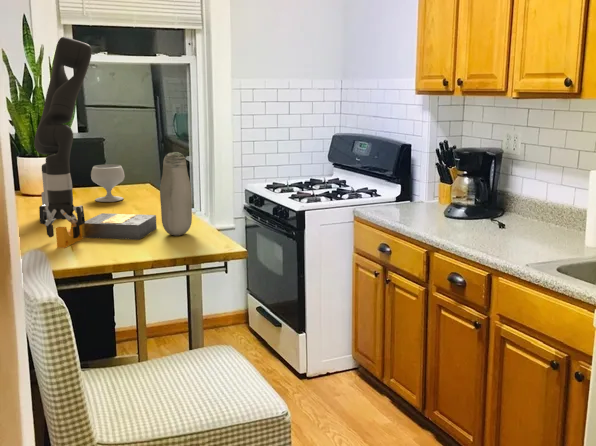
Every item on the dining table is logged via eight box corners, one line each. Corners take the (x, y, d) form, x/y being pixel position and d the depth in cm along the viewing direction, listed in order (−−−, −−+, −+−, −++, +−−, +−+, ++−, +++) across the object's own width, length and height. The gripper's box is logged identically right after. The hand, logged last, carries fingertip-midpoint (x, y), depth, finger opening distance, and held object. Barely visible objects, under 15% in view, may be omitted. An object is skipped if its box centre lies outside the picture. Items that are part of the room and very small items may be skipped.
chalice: (94, 204, 272) (92, 168, 269) (91, 198, 285) (88, 164, 281) (128, 201, 277) (126, 167, 274) (123, 196, 290) (121, 163, 287)
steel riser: (82, 237, 214) (81, 222, 213) (103, 227, 230) (102, 212, 229) (139, 239, 212) (138, 224, 211) (156, 228, 227) (155, 214, 226)
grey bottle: (189, 238, 214) (186, 154, 208) (159, 237, 214) (155, 154, 208) (195, 231, 224) (192, 150, 218) (165, 231, 224) (162, 150, 218)
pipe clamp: (70, 238, 214) (68, 219, 212) (82, 239, 213) (81, 220, 212) (52, 247, 202) (50, 227, 201) (65, 248, 202) (63, 228, 200)
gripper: (32, 189, 202) (36, 239, 205) (75, 190, 200) (79, 240, 203) (44, 185, 209) (49, 233, 212) (86, 186, 207) (89, 235, 210)
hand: (63, 237), depth 208 cm, fingers open, 8 cm apart
